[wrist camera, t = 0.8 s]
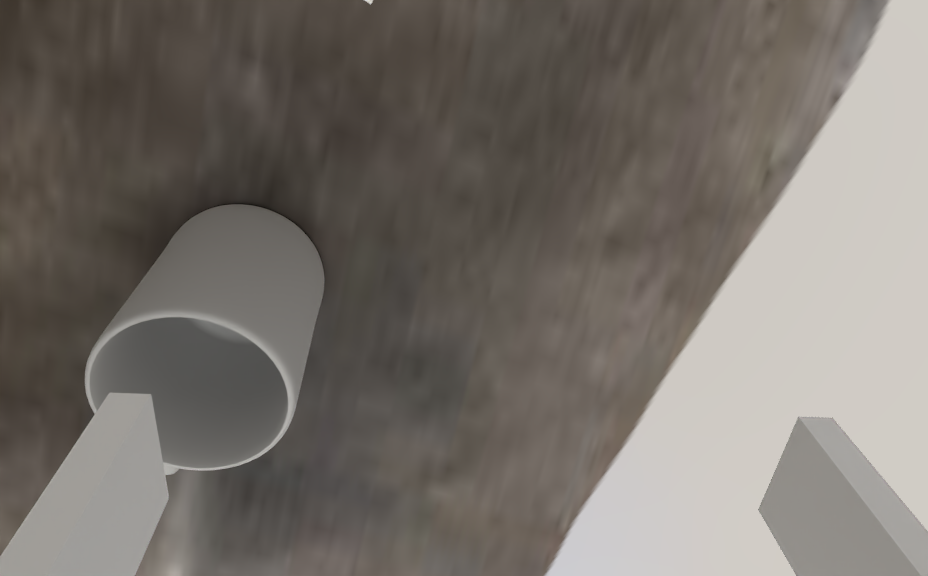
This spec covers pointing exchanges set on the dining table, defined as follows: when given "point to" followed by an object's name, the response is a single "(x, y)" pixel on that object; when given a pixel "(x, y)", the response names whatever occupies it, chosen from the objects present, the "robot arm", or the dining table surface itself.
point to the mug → (216, 336)
